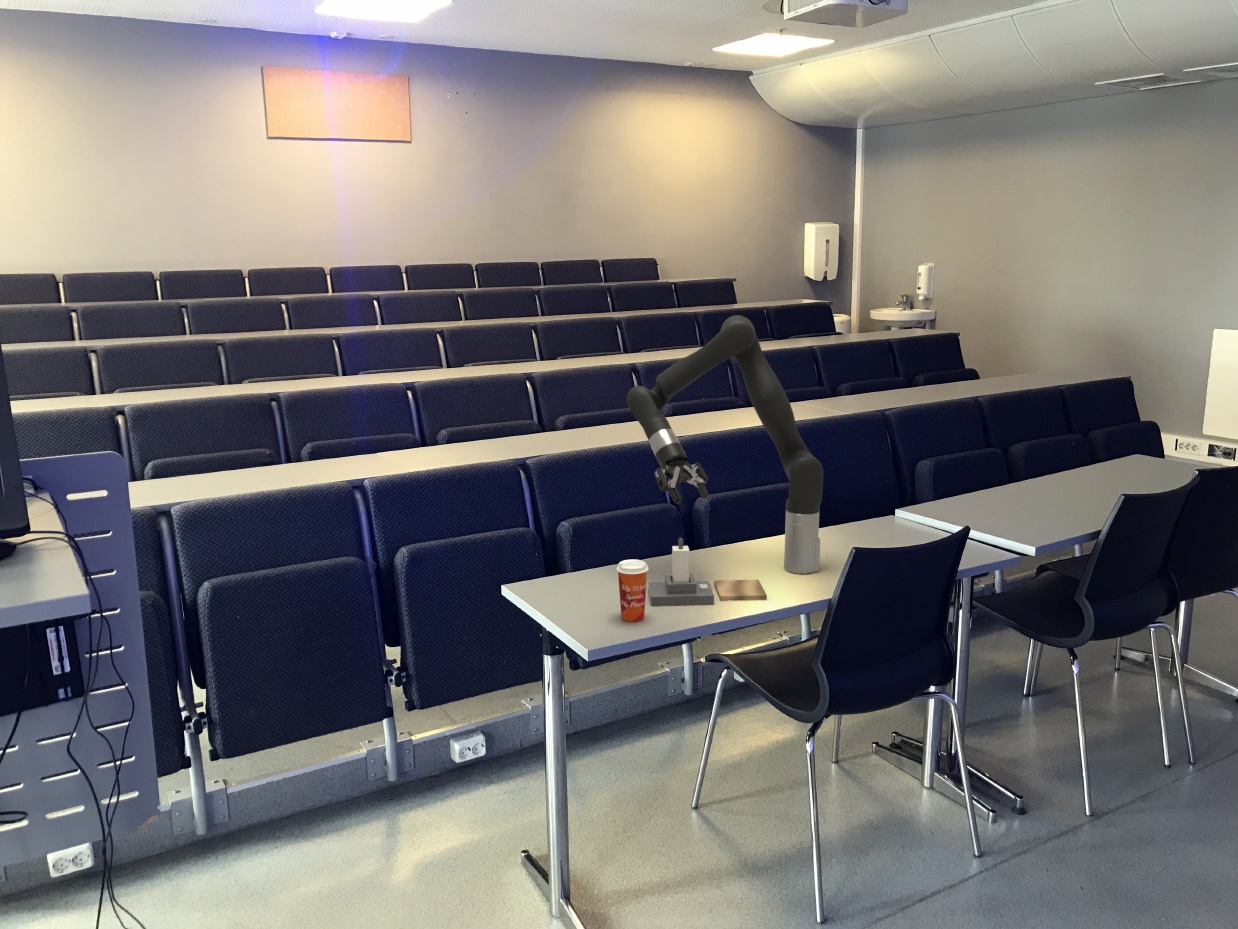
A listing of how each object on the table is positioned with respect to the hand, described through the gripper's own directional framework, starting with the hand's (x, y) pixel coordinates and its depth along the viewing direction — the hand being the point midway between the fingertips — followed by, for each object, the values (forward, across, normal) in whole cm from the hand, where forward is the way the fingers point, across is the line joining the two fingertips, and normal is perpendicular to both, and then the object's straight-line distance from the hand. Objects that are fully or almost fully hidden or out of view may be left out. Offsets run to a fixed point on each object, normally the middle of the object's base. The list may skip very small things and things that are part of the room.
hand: (692, 499), depth 243 cm
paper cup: (+23, -24, +12) cm, 35 cm away
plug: (+18, -6, +14) cm, 23 cm away
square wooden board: (+24, +9, +11) cm, 28 cm away
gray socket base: (+20, -6, +15) cm, 26 cm away
